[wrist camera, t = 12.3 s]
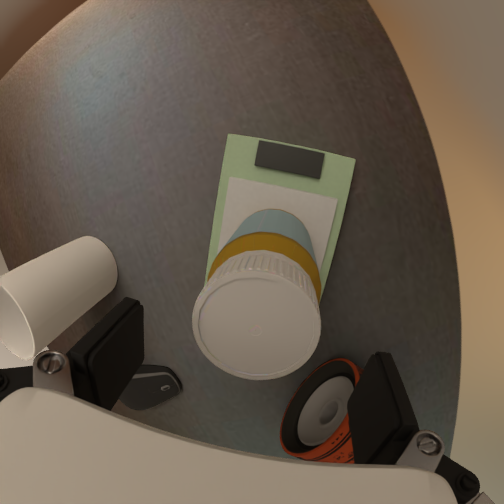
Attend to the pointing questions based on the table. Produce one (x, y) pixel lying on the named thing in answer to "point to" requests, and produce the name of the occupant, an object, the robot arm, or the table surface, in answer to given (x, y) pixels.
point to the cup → (53, 293)
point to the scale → (282, 192)
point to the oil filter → (321, 415)
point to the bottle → (261, 299)
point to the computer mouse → (150, 387)
